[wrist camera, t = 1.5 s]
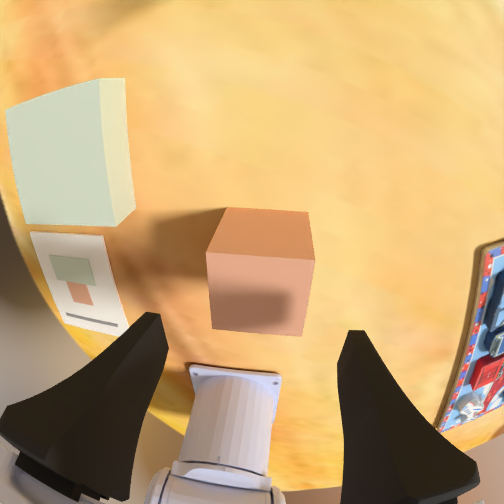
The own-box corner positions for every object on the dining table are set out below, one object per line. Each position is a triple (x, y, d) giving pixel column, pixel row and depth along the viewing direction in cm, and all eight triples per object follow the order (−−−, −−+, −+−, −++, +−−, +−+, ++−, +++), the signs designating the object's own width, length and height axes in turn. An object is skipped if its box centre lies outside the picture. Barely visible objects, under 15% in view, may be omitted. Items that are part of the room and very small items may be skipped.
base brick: (138, 205, 17) (116, 226, 15) (50, 205, 18) (26, 223, 15) (128, 77, 13) (99, 78, 11) (35, 102, 14) (5, 109, 11)
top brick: (299, 278, 18) (301, 336, 14) (228, 272, 19) (212, 328, 15) (307, 212, 16) (315, 260, 12) (227, 206, 16) (205, 252, 12)
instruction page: (132, 337, 23) (131, 339, 23) (65, 321, 24) (64, 324, 24) (103, 234, 18) (100, 236, 18) (30, 230, 19) (28, 232, 19)
